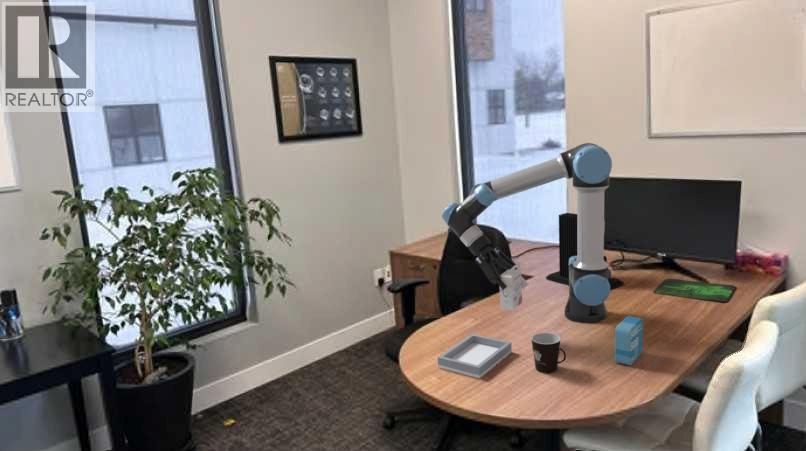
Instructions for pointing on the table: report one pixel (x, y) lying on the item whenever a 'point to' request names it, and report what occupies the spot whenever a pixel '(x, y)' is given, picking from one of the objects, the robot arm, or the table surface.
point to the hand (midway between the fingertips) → (519, 290)
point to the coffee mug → (546, 352)
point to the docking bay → (474, 355)
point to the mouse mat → (695, 290)
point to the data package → (628, 340)
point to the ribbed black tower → (572, 251)
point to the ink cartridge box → (515, 282)
